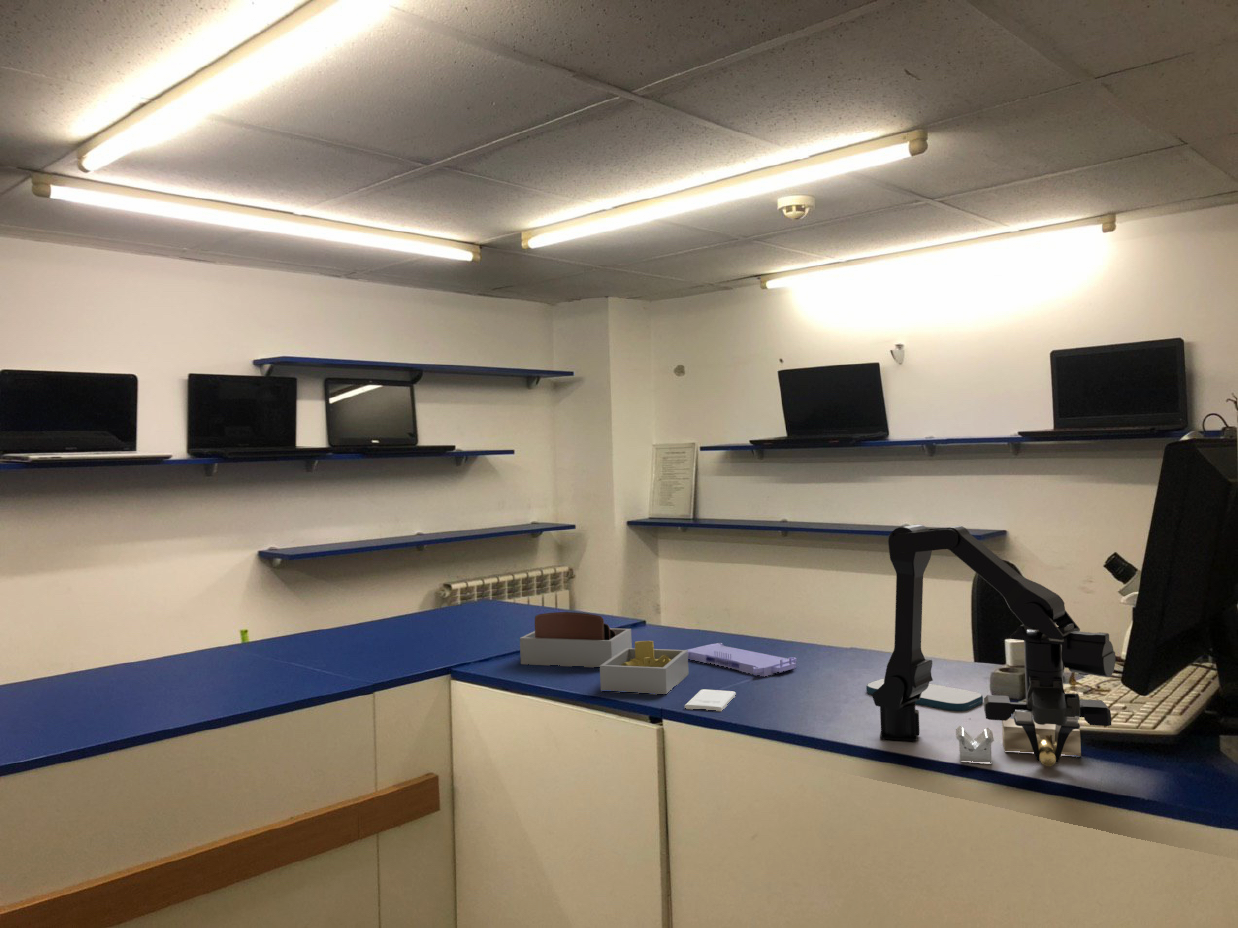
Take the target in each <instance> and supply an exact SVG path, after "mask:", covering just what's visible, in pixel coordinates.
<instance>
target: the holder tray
mask: <svg viewBox="0 0 1238 928" xmlns="http://www.w3.org/2000/svg"><path fill="white" fill-rule="evenodd" d="M610 629H611V630H614V631H615V634H616V636H615V637H613V638H612V639H610V640H586V639H557V638H535V630H534V631H532V632H529V633H527V634H525V635H523V636H521V637H519V652H520V656H519V657H520V664H521V665H528V664H529V666H530V665H532V666H533V665H534V666H550V665H558V666H557V667H572V666H584V667H583V668H594V667H600V665H602V664H603V663H605V662H606V661H608V660H609V659H611V658H612V657H614V656H615V655H617V654H618V653H620V652H621V651H623V650H624V649H626V648H633V646H632V645H633V644H632V628H614V627H612V628H611V627H610ZM559 665H560V666H559Z"/></svg>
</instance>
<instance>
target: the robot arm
mask: <svg viewBox="0 0 1238 928" xmlns="http://www.w3.org/2000/svg"><path fill="white" fill-rule="evenodd" d="M887 546H888V554H889V555H888V556H889V559H890V562H891V564H892V566H893V569H894V571H895V575H896V578H895V583H896V584H895V611H894V612H895V613H894V615H895V616H894V617H895V618H894V646H893V651H892V654H891V655H890V657H889V660H888V662H887V664H886V669H885V672H884V673H885V674H884V684H883V685H882V686H881V687H880V688H879V689H877V690H876V691H875V692H874V693H873V694H872V695H871V696H872V700H873V703H874V705H875V706H876V707H879V715H880V716H879V718H880V734H879V739H880V740H889V741H891V740H892V741H904V742H905V741H906V742H917V741H918V737H919V736H920V732H921V731H920V730H921V729H920V711H919V709H916V704H915V701H916V700H920V697H921V694H922V692H923V691H925V690H926V689H927V688H928V686H929V683H930V682H932V681H934V679H933V676H932V668H933V659H926V658H925V656H924V653H923V651H922V630H923V629H922V625H923V624H922V622H923V595H924V593H923V592H924V575H925V574H924V573H925V571H926V570H927V566H928V565H929V562H930V560H931V557H932V552H933V551H939V550H947V551H948V550H949V551H950V552H951V553H952V554H953V555H954V556H956V557H957V558H958V559H959V560H961V562H963V564H965V565H966V566H968V567H969V568H970V570H972V571H974V572H975V573H976V574H977V575H978V576H979V577H981V578H982V579H983V581H985V582H986V583H987V584H989V586H991V587H992V588H993V589H994V590H996V591H997V592H998V593H999V594H1000V595H1001V596H1002V598H1003V599H1004V600H1005V602H1006V604H1007V607H1008V608H1009V609H1010V611H1011V612H1012V613H1013V614H1014V616H1015V617H1016V618H1017V619H1018V620H1019V622H1020V623H1022V624H1021V625H1020V626H1019V627H1018V628H1017V629H1016V631H1014V632H1013V633H1012V634H1010V639H1011V640H1017V641H1023V653H1024V675H1025V677H1024V678H1025V681H1024V682H1025V702H1013V701H1010V700H1011V699H1010V697H1009V695H992V694H987V695H986V696H985V697H983V709H984V714H985V719H986V720H989V721H1001V722H1002V721H1007V720H1008V719H1011V717H1012V719H1014V722H1015V725H1017V726H1022V727H1023V729H1024V730H1025V732H1026V734H1027V736H1028V738H1029V740H1030V743H1031V746H1032V748H1033V751H1034V754H1035V755H1034V756H1035V760H1036V762H1041V761H1040V757H1039V755H1040V754H1039V748H1038V742H1037V736H1036V730H1035V723H1037V724H1040V725H1045V724H1056V726H1055V743H1054V754H1055V757H1056V762H1055V764H1057V763H1059V761H1060V758H1061V757H1062V756H1061V753H1062V750H1063V747H1064V744H1065V742H1066V739H1067V738H1068V736H1069V734H1070V733H1071V732H1072V730H1073V729H1079V730H1080V729H1081V724H1080V723H1079V721H1080V718H1083V719H1084V721H1085V722H1086V723H1087V724H1089V725H1090V726H1096V727H1097V726H1098V727H1110V726H1112V714H1111V713H1112V712H1111V710H1110V708H1109V706H1108V705H1107V704H1106V703H1105V702H1104V701H1103V700H1102V699H1080V696H1079V693H1071V692H1065V689H1064V671H1063V670H1064V669H1063V668H1065V669H1068V670H1069V672H1070V673H1076V674H1082V675H1083V674H1084V675H1089V676H1096V677H1097V676H1098V677H1105V678H1106V677H1107V678H1111V677H1112V675H1113V673H1114V671H1115V667H1116V651H1114V647H1113V643H1112V642H1111V640H1110V634H1109V633H1108V632H1089V631H1088V632H1087V631H1080V630H1081V628H1080V627H1079V625H1077V623H1076V621H1074V619H1073V618H1072V617H1071V615H1069V613H1068V612H1067V610H1066V606H1065V602H1064V600H1063V598H1062V597H1061V596H1060V595H1059V594H1057V593H1056V592H1054V591H1052V590H1051V589H1049V588H1048V587H1045V586H1044V585H1042V584H1041V583H1039V582H1036V581H1033V580H1030V579H1029V578H1026V577H1025V576H1023V575H1021V574H1020V573H1018V572H1017V571H1016V570H1015V569H1014V568H1013V567H1011V566H1010V565H1009V564H1008V563H1007V562H1005V561H1004V560H1003V559H1002V558H1001V557H999V556H998V555H997V554H995V553H994V552H993V551H992V550H990V549H989V548H988V547H987V546H986V545H984V544H983V543H982V542H981V541H980V540H978V538H976V537H975V536H974V535H972V534H971V533H970V531H969V530H968V529H967V528H966V527H964V526H961V525H956V526H950V527H938V528H928V527H926V526H925V525H922V524H911V525H904V526H899V527H896V528H894V529H893V530H892V531H891V532H890V533H889V535H888V538H887ZM1063 666H1064V667H1063ZM1033 720H1034V721H1033ZM1034 722H1035V723H1034Z"/></svg>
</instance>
